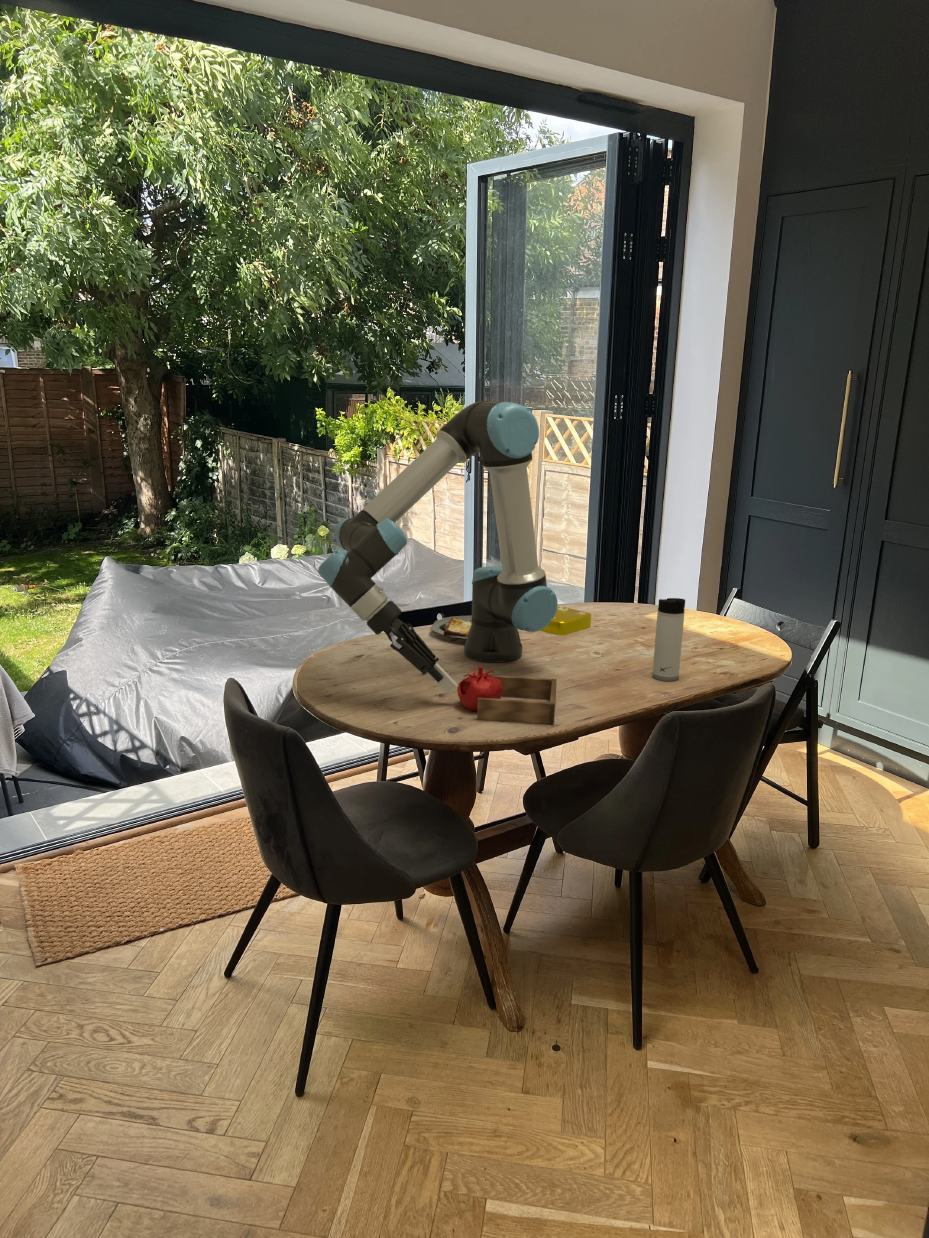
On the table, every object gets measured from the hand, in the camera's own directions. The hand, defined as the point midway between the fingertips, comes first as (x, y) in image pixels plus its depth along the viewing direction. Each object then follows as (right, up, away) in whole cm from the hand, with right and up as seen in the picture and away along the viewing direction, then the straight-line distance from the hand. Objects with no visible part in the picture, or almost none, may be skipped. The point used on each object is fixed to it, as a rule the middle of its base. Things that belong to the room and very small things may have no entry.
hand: (452, 688), depth 193 cm
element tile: (+30, +13, +65) cm, 73 cm away
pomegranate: (+6, -4, 0) cm, 7 cm away
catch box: (+14, -4, -1) cm, 14 cm away
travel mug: (+52, +1, +22) cm, 56 cm away
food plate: (+5, +11, +56) cm, 57 cm away
